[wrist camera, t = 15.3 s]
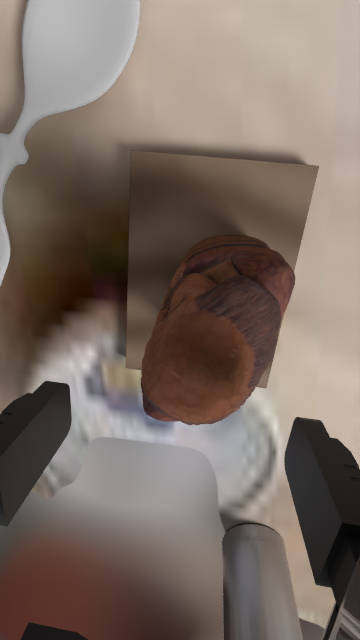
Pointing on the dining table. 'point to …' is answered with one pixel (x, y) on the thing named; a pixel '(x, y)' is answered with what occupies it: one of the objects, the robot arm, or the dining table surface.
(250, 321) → the wooden figurine
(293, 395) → the dining table surface
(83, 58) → the spoon
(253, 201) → the walnut board
